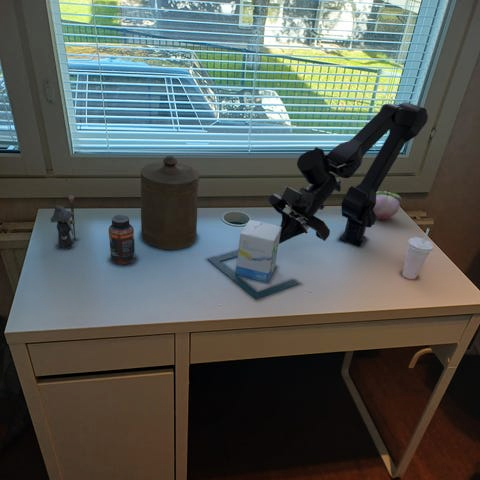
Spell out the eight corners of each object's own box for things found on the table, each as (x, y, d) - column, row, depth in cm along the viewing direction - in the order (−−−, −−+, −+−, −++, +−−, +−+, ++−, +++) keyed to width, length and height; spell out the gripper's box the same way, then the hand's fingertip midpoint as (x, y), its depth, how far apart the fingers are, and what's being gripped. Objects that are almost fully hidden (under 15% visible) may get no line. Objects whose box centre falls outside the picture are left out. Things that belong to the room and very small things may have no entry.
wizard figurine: (75, 252, 119) (69, 207, 112) (52, 251, 118) (44, 206, 111) (80, 236, 125) (75, 193, 118) (58, 235, 125) (52, 192, 117)
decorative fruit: (392, 215, 156) (401, 186, 150) (396, 226, 149) (405, 196, 143) (364, 211, 156) (372, 182, 150) (366, 222, 150) (374, 192, 144)
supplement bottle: (140, 258, 120) (138, 217, 113) (126, 268, 115) (123, 226, 108) (120, 251, 121) (117, 210, 114) (105, 261, 117) (102, 219, 110)
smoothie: (408, 283, 122) (426, 235, 114) (392, 271, 127) (408, 223, 118) (426, 279, 125) (445, 231, 117) (409, 267, 129) (426, 220, 121)
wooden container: (203, 230, 135) (207, 153, 121) (185, 254, 123) (188, 172, 110) (154, 220, 137) (152, 143, 123) (132, 243, 125) (128, 160, 112)
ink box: (267, 283, 116) (273, 241, 109) (234, 274, 118) (239, 232, 111) (275, 266, 123) (282, 225, 116) (244, 258, 124) (249, 218, 117)
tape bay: (249, 248, 129) (249, 247, 129) (298, 284, 117) (298, 283, 117) (208, 260, 122) (208, 259, 122) (255, 299, 110) (256, 298, 110)
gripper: (278, 162, 117) (238, 211, 118) (331, 189, 106) (287, 244, 107) (296, 187, 126) (259, 233, 127) (347, 215, 115) (306, 265, 116)
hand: (276, 242), depth 119 cm, fingers closed
